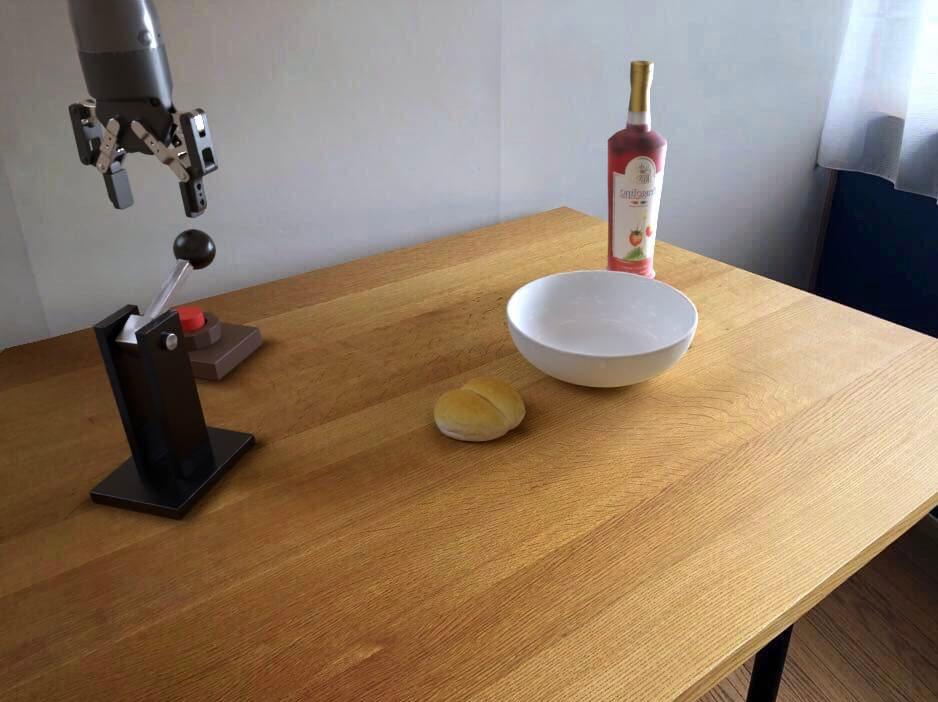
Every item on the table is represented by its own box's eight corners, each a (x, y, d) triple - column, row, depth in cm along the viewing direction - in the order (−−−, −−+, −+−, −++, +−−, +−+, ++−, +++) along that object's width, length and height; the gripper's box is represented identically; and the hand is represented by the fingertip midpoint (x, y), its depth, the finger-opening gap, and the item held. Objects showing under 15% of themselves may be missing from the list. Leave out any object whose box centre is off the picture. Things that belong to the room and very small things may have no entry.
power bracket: (176, 429, 86) (137, 283, 77) (256, 444, 83) (225, 295, 75) (92, 502, 76) (36, 343, 67) (180, 520, 74) (134, 359, 65)
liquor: (650, 270, 120) (666, 56, 105) (660, 292, 113) (679, 68, 99) (598, 272, 119) (606, 57, 104) (605, 294, 113) (616, 69, 98)
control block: (124, 366, 96) (115, 334, 94) (174, 331, 104) (166, 300, 102) (218, 381, 94) (210, 348, 92) (262, 344, 101) (256, 313, 99)
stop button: (164, 331, 96) (161, 317, 95) (184, 318, 99) (181, 304, 98) (192, 335, 95) (189, 321, 94) (211, 321, 98) (208, 308, 97)
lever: (195, 246, 80) (176, 218, 77) (229, 250, 79) (212, 222, 76) (126, 360, 73) (103, 334, 70) (162, 366, 73) (140, 340, 70)
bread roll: (419, 423, 87) (416, 389, 85) (485, 391, 92) (484, 358, 90) (472, 457, 82) (470, 421, 80) (539, 421, 87) (539, 387, 85)
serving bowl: (507, 414, 88) (506, 355, 84) (507, 322, 106) (506, 270, 102) (708, 411, 89) (716, 352, 85) (675, 320, 106) (680, 268, 103)
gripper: (211, 39, 81) (241, 206, 89) (84, 30, 84) (125, 193, 93) (160, 52, 74) (197, 231, 83) (25, 43, 78) (75, 216, 86)
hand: (159, 211), depth 88 cm, fingers open, 8 cm apart
